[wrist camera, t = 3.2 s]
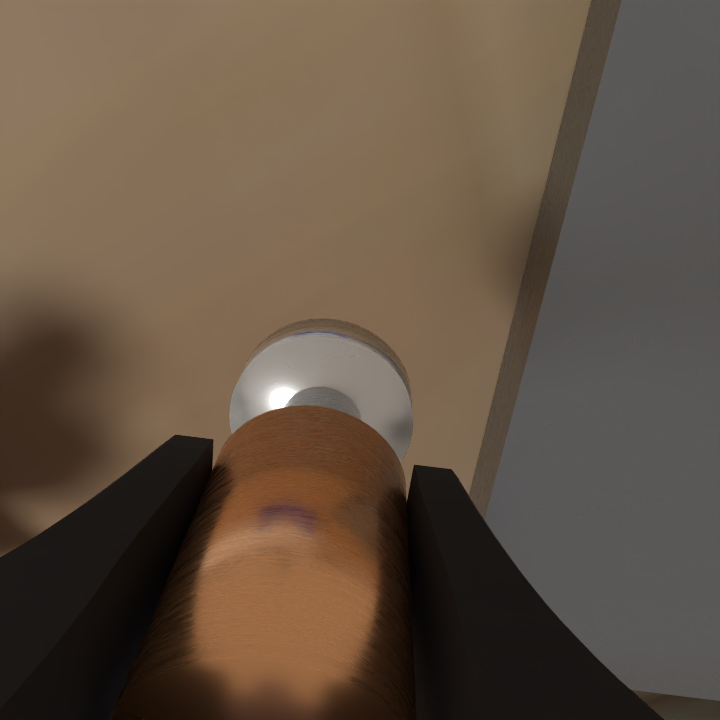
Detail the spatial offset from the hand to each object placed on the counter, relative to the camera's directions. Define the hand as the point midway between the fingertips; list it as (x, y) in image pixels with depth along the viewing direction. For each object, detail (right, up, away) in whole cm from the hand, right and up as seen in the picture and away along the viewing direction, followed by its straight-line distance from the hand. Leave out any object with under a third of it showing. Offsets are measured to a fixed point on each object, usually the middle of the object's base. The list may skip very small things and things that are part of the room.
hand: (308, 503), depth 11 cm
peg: (0, +2, +3) cm, 3 cm away
